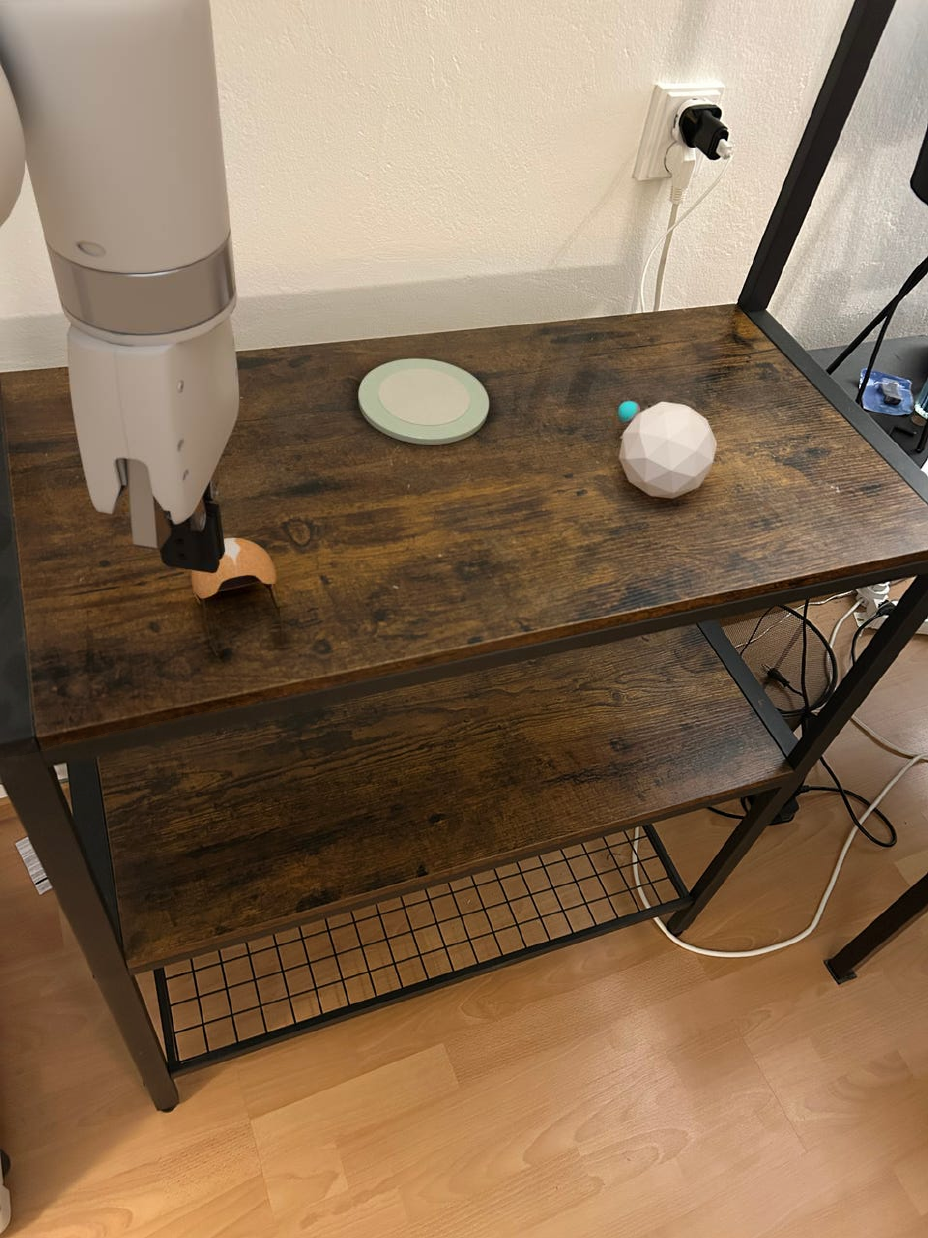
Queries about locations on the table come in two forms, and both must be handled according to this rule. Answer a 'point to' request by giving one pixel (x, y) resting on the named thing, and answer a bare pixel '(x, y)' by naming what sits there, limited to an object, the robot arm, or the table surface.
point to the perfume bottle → (665, 448)
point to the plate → (423, 401)
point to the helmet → (236, 572)
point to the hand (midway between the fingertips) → (194, 559)
